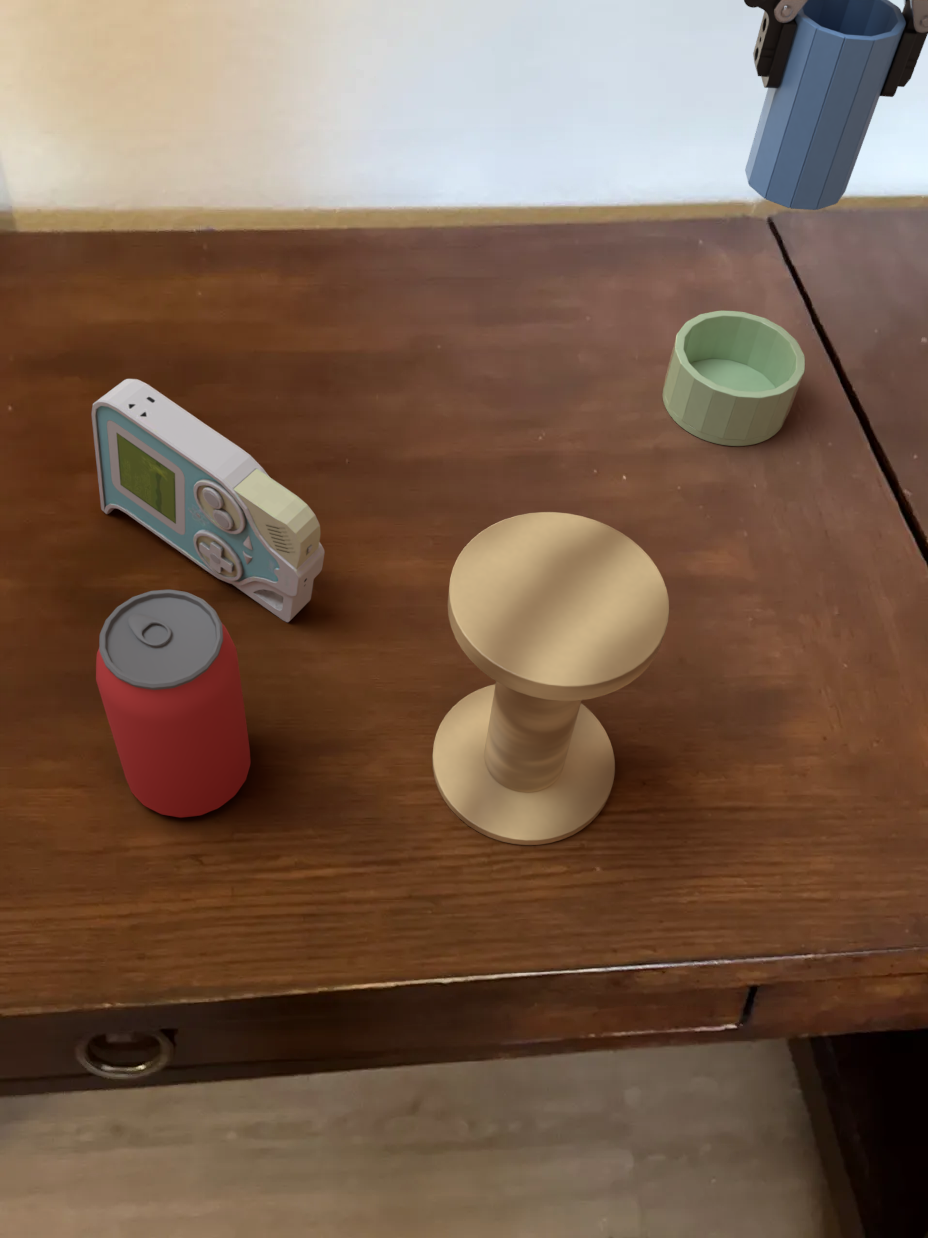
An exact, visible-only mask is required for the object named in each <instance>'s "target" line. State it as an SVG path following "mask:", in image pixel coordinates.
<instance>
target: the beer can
mask: <svg viewBox="0 0 928 1238" xmlns="http://www.w3.org/2000/svg"><path fill="white" fill-rule="evenodd" d="M98 644H99V646H98V650H97V652H96V661H95V682H96V684H97V688H98V691H99V695H100V697H101V701H102V704H103V708H104V711H105V715H106V718H107V721H108V724H109V725H108V726H109V727H110V731H111V734H112V738H113V741H114V744H115V748H116V751H117V754H118V757H119V761H120V764H121V768H122V771H123V774H124V778H125V781H126V783H127V784H128V788H129V790H130V792H131V794H132V795H133V796H134V797H135V798H136V799H137V801H139V802H140V803H141V804H142V805H143V806H144V807H146V808H148V809H150V810H152V811H153V812H156V813H158V814H159V815H163V816H168V817H169V816H170V817H175V818H180V819H182V818H191V817H197V816H199V817H200V816H203V815H205V814H207V813H210V812H213V811H215V810H218V809H219V808H221V807H222V806H224V805H225V804H227V803H228V802H229V801H230V800H232V799H233V798H234V797H235V796H236V795H237V793H238V792H239V791H240V789H241V788H242V787H243V785H244V784H245V782H246V781H247V779H248V774H249V771H250V767H251V764H252V763H251V749H250V748H251V747H250V739H249V731H248V725H247V719H246V710H245V703H244V696H243V695H244V694H243V687H242V680H241V674H240V665H239V657H238V651H237V646H236V645H235V642H234V641H233V639H232V637H231V635H230V633H229V631H228V629H227V627H226V625H224V623H223V622H222V621H221V619H220V617H219V615H218V612H217V611H216V610H215V609H214V608H213V606H211V605H210V604H209V603H208V602H207V601H206V600H205V599H203V598H201V597H199V596H196V595H194V594H192V593H190V592H188V591H181V590H176V589H160V590H159V589H157V590H150V591H147V592H144V593H140V594H138V595H134V596H132V597H131V598H129V599H127V600H125V601H124V602H123V603H121V604H120V605H117V606H116V607H115V609H114V610H113V611H112V612H111V613H110V615H109V616H107V618H106V619H105V621H104V623H103V626H102V628H101V630H100V633H99V643H98Z"/></svg>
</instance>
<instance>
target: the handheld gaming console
mask: <svg viewBox="0 0 928 1238" xmlns="http://www.w3.org/2000/svg"><path fill="white" fill-rule="evenodd" d="M91 422H92V432H93V443H94V450H95V451H94V452H95V461H96V471H97V483H98V490H99V501H100V509H101V511H102V512H103V513H105V515H109V514H110V513H112V512H113V511H114V510H115V509H117V510H120V511H121V512H123V513H125V514H126V515H128V516H129V517H130V518H131V519H133V520H135V521H136V522H137V523H139V524H140V525H142V526H143V527H145V528H146V529H147V530H149V531H150V532H152V534H154V535H155V536H157V537H159V538H160V539H161V540H162V541H164V542H165V543H166V544H168V545H170V546H171V547H172V548H174V549H175V550H177V551H178V553H179V552H180V554H182V555H183V556H185V557H186V558H188V559H189V560H190V561H192V562H194V563H195V564H196V565H198V566H199V567H200V568H202V569H203V570H204V571H206V572H208V573H209V574H210V575H212V576H214V577H215V578H217V579H218V580H221V581H223V582H225V583H228V584H230V585H232V586H234V587H235V588H237V589H238V590H240V591H241V592H242V593H244V594H245V595H247V596H248V597H250V599H252V600H254V601H255V602H256V603H258V604H259V605H260V606H262V607H263V608H265V609H266V610H268V611H269V612H271V613H272V614H273V615H275V616H276V617H278V618H279V619H280V620H281V621H283V622H285V623H289V622H290V621H291V620H292V619H294V617H295V616H296V615H297V614H299V612H300V611H301V610H302V609H303V608H304V607H306V605H307V604H308V603H309V602H310V601H311V600H312V595H313V587H314V580H315V579H316V577H318V575H319V574H321V572H322V571H323V565H324V560H325V553H326V552H325V548H324V547H323V545H322V543H321V542H320V540H321V533H322V532H321V524H320V522H319V520H318V518H317V516H316V514H315V513H314V511H313V510H312V509H311V507H310V506H309V505H308V504H307V503H306V502H305V500H303V499H302V498H300V497H299V496H298V495H296V494H295V493H294V492H292V491H291V490H289V489H288V488H287V487H285V486H284V485H282V484H280V483H279V482H278V481H276V480H275V479H273V478H271V477H270V476H269V474H268V472H266V470H265V468H264V467H263V466H262V465H261V464H259V462H257V460H256V459H255V458H254V457H253V456H252V455H251V454H249V453H248V452H246V451H245V450H244V449H243V448H241V447H240V446H239V445H237V444H236V443H235V442H233V441H231V440H229V438H227V437H225V436H224V435H222V434H221V433H219V432H218V431H216V430H215V429H214V428H212V427H210V426H209V425H207V424H206V423H204V422H203V421H202V420H200V419H198V418H197V417H196V416H194V415H193V414H192V413H190V412H188V411H187V410H186V409H185V408H183V407H181V406H180V405H179V404H177V403H175V402H174V401H173V400H171V399H170V398H168V397H167V396H165V395H164V394H162V392H159V391H158V390H157V389H156V388H154V387H152V386H151V385H150V384H149V383H146V382H144V381H142V380H140V379H137V378H125V379H124V380H122V381H121V382H119V383H118V384H117V385H116V386H114V387H113V388H112V389H111V390H109V391H108V392H107V393H105V394H104V395H102V396H100V398H99V399H97V400H96V401H94V402H93V403H92V408H91Z"/></svg>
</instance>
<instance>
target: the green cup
mask: <svg viewBox="0 0 928 1238" xmlns="http://www.w3.org/2000/svg"><path fill="white" fill-rule="evenodd" d="M805 369H806V357H805V354H804V352H803V350H802V348H801V346H800V344H799V341H798V340H797V339H796V338H795V337H793V336H792V335H791V333H789V332H788V331H787V329H785V328H784V327H782V326H780V324H777V323H775V322H773V321H772V320H769V319H768V318H766V317H763V316H759V315H756V314H752V313H749V312H745V311H739V310H738V311H737V310H715V311H710V312H705V313H700V314H698V315H696V316H694V317H693V318H690V319H689V320H687V321H685V323H684V324H683V325H682V327H680V329H679V331H678V332H677V333H676V335H675V339H674V343H673V347H672V350H671V354H670V357H669V361H668V365H667V369H666V372H665V376H664V383H663V387H662V391H661V392H662V400H663V405H664V408H665V410H666V411H667V413H668V414H669V416H670V417H671V418H672V420H673V421H674V422H675V423H676V424H677V425H678V426H679V427H681V428H682V429H683V430H685V431H686V432H687V433H689V434H691V435H692V436H694V437H696V438H699V439H701V440H703V441H705V442H709V443H712V444H715V445H721V446H729V447H744V446H746V447H747V446H752V445H757V444H760V443H762V442H765V441H767V440H769V439H770V438H773V436H775V435H776V434H777V433H778V432H780V430H781V429H782V427H783V426H784V424H785V422H786V419H787V417H788V416H789V413H790V411H791V408H792V406H793V403H794V400H795V398H796V395H797V392H798V390H799V388H800V385H801V383H802V379H803V377H804V374H805Z"/></svg>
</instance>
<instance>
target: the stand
mask: <svg viewBox="0 0 928 1238" xmlns="http://www.w3.org/2000/svg"><path fill="white" fill-rule="evenodd" d="M448 585H449V587H448V596H447V616H448V621H449V626H450V628H451V631H452V633H453V635H454V636H453V637H454V639H455V640H456V642H457V644H458V645H459V647H460V649H461V650H462V652H463V653H464V654H465V655H466V657H467V658H468V659H469V661H471V662H472V663H473V664H474V666H475V667H477V669H479V670H480V671H481V672H483V674H485V675H487V676H488V677H489V678H490V679H492V680H493V681H495V683H494V684H491V685H487V686H484V687H482V688H479V689H476V690H475V691H473V692H471V693H468V694H467V695H466V696H464V697H463V698H462V699H460V700H459V701H457V702H456V704H454V706H452V707H451V708H450V710H449V711H448V712H447V713H446V714H445V716H444V717H443V719H442V721H441V722H440V724H439V726H438V728H437V731H436V732H435V737H434V740H433V745H432V746H433V747H432V748H433V749H432V756H431V760H432V761H431V762H432V763H431V764H432V772H433V773H432V774H433V778H434V782H435V784H436V786H437V790H438V791H439V794H440V795H441V797H442V799H443V801H444V802H445V803H446V805H447V807H448V808H449V810H451V811H452V812H453V814H455V815H456V817H457V818H458V819H459V820H460V821H462V822H463V823H464V824H466V825H467V826H468V827H470V828H471V829H473V830H474V831H476V832H477V833H480V834H482V835H483V836H486V837H488V838H490V839H493V840H496V841H498V842H501V843H502V842H503V843H506V844H507V843H508V844H511V845H519V846H521V845H522V846H539V845H547V844H551V843H555V842H559V841H562V840H564V839H567V838H569V837H572V836H574V835H575V834H577V833H579V832H580V831H582V830H583V829H584V828H586V827H588V826H589V825H590V824H592V821H594V820H595V819H596V817H598V816H599V814H600V813H601V811H602V810H603V808H604V807H605V806H606V803H607V801H608V799H609V797H610V794H611V791H612V788H613V784H614V781H615V780H614V779H615V776H616V775H615V774H616V760H615V754H614V749H613V745H612V743H611V740H610V738H609V736H608V733H607V731H606V729H605V728H604V726H603V725H602V723H601V722H600V720H599V719H598V718H597V717H596V715H595V714H594V713H593V712H592V711H591V710H590V709H589V708H588V707H587V706H586V705H584V704H583V703H582V701H585V700H591V699H595V698H599V697H604V696H607V695H609V694H611V693H614V692H617V691H619V690H621V689H622V688H625V687H626V686H628V685H630V684H631V683H633V682H634V681H635V680H637V678H639V677H640V676H641V675H642V674H643V673H644V672H645V671H646V670H647V669H648V668H649V667H650V665H651V664H652V663H653V661H654V660H655V658H656V656H657V654H658V653H659V650H660V648H661V646H662V643H663V641H664V637H665V634H666V630H667V628H668V625H669V619H670V598H669V594H668V590H667V589H668V588H667V586H666V584H665V581H664V578H663V575H662V574H661V572H660V570H659V568H658V567H657V565H656V564H655V563H654V560H653V559H652V558H651V556H649V554H648V553H646V551H644V549H643V548H642V547H641V546H640V545H638V544H637V543H636V542H635V541H634V540H633V539H631V538H630V537H628V536H627V535H626V534H624V533H622V532H621V531H619V530H617V529H616V528H613V527H612V526H611V525H610V526H609V525H608V524H606V523H603V522H602V521H599V520H596V519H592V518H589V517H586V516H582V515H577V514H573V513H568V512H567V513H566V512H556V511H539V512H529V513H524V514H518V515H514V516H512V517H508V518H505V519H502V520H500V521H498V522H496V523H494V524H492V525H490V526H488V527H487V528H484V529H483V530H482V531H480V532H479V533H478V534H476V536H474V537H473V538H472V539H471V540H470V541H469V542H468V543H467V544H466V546H464V548H463V549H462V550H461V552H460V553H459V555H458V556H457V558H456V560H455V562H454V565H453V567H452V570H451V573H450V577H449V584H448Z"/></svg>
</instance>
